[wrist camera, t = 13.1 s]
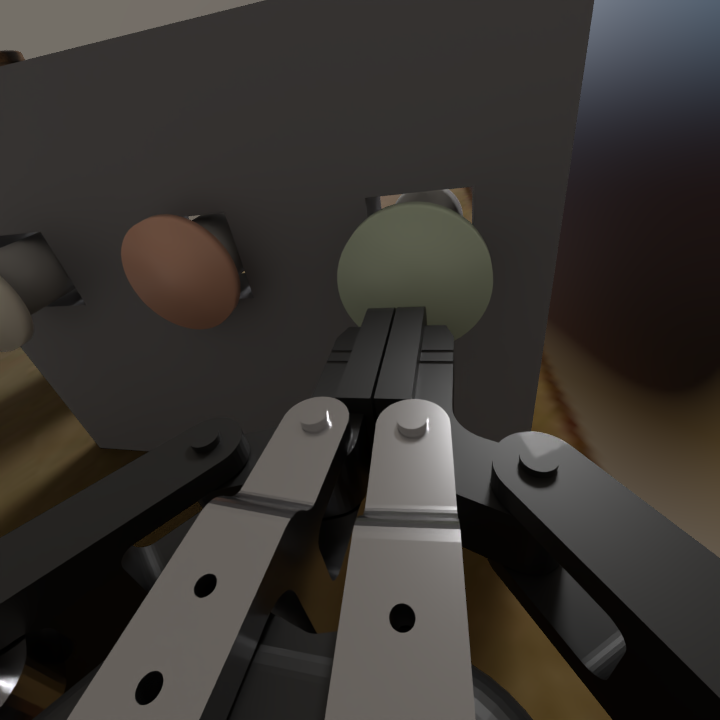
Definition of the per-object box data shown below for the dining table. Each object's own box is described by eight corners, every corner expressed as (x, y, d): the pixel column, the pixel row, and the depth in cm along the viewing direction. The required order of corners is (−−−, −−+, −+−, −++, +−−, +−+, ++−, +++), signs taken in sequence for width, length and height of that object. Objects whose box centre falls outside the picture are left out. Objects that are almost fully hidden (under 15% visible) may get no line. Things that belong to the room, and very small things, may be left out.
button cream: (44, 351, 19) (-33, 249, 16) (-33, 352, 20) (-117, 257, 17) (134, 287, 24) (89, 201, 21) (69, 291, 25) (17, 210, 22)
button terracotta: (249, 328, 17) (207, 213, 15) (154, 330, 19) (98, 224, 16) (298, 266, 23) (274, 172, 20) (220, 271, 24) (187, 183, 21)
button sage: (489, 349, 14) (497, 199, 11) (350, 350, 15) (323, 215, 12) (482, 269, 19) (486, 152, 16) (379, 274, 20) (365, 167, 17)
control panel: (524, 477, 22) (606, -86, 10) (99, 447, 30) (-168, 108, 17) (511, 391, 28) (552, -33, 16) (159, 383, 36) (-9, 94, 23)
